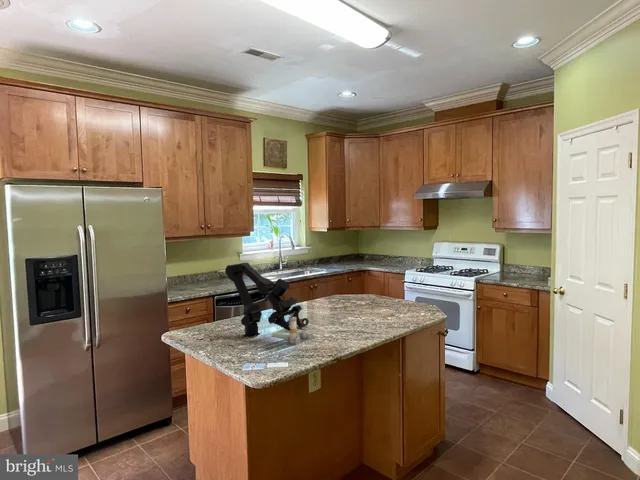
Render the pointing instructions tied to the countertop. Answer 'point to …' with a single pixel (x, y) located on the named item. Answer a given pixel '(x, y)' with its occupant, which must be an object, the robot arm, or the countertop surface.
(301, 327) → the pottery mug
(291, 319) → the banded fuse
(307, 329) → the cylinder
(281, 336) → the tray
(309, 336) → the block
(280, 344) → the countertop surface
